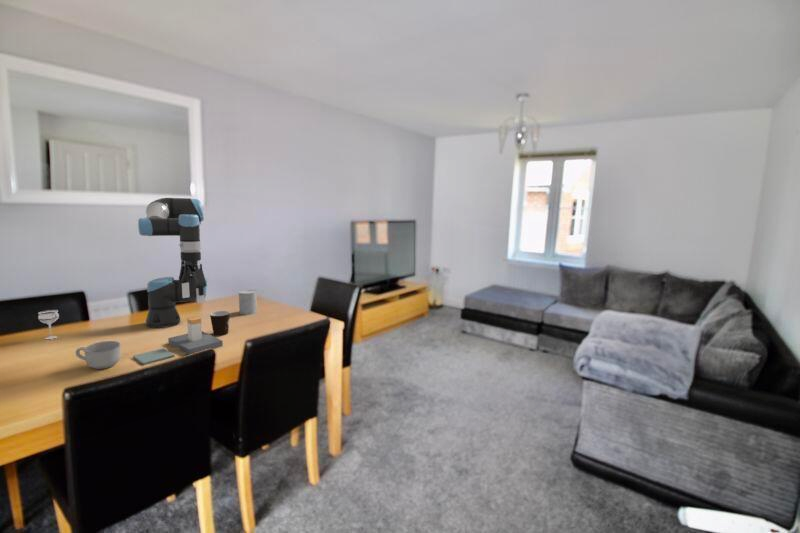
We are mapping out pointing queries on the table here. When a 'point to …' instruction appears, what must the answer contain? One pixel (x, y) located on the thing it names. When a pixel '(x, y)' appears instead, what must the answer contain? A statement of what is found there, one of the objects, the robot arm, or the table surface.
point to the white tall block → (194, 329)
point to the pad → (153, 356)
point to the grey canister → (247, 302)
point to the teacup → (101, 354)
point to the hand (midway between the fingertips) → (193, 300)
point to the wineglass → (49, 319)
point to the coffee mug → (220, 322)
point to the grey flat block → (194, 343)
